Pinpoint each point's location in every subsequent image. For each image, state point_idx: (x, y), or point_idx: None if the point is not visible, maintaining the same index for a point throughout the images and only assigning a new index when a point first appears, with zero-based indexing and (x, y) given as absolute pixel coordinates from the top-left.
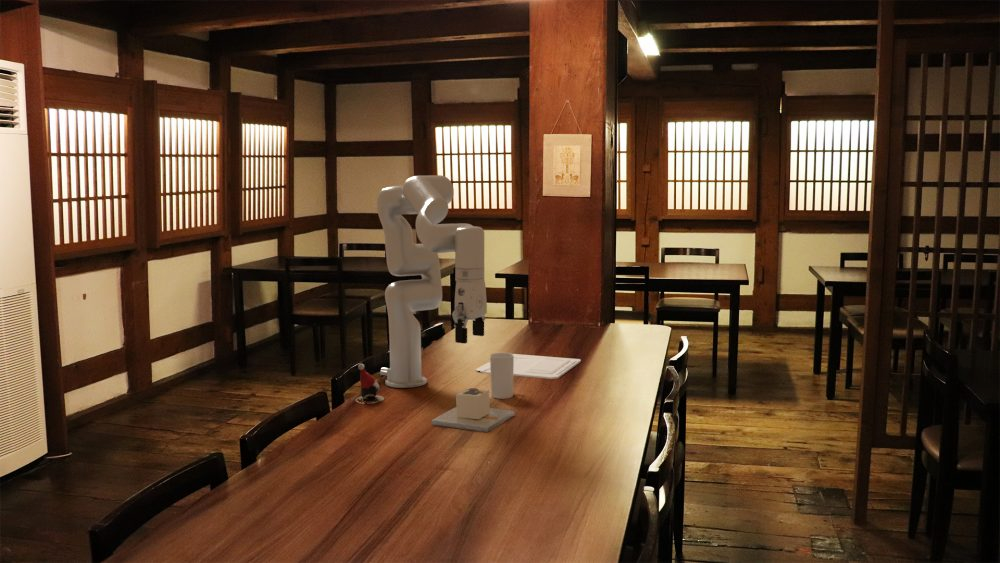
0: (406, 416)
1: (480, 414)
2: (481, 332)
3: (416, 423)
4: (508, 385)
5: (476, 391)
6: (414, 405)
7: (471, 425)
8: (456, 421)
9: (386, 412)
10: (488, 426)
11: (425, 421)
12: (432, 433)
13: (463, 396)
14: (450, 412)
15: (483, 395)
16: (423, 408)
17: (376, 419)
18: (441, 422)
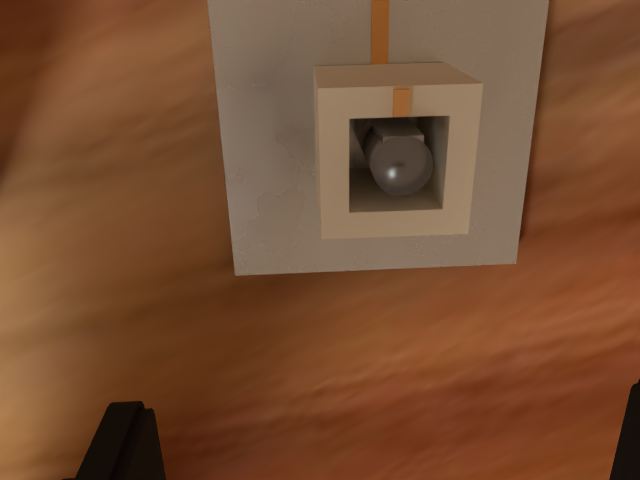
0: (434, 391)
1: (429, 66)
2: (140, 453)
3: (509, 314)
4: None
5: (415, 133)
6: (285, 439)
7: (542, 52)
8: (502, 154)
9: (413, 470)
10: None
11: (471, 298)
12: (623, 190)
13: (471, 183)
14: (375, 250)
15: (400, 83)
16: (306, 393)
17: (507, 454)
18: (519, 214)
